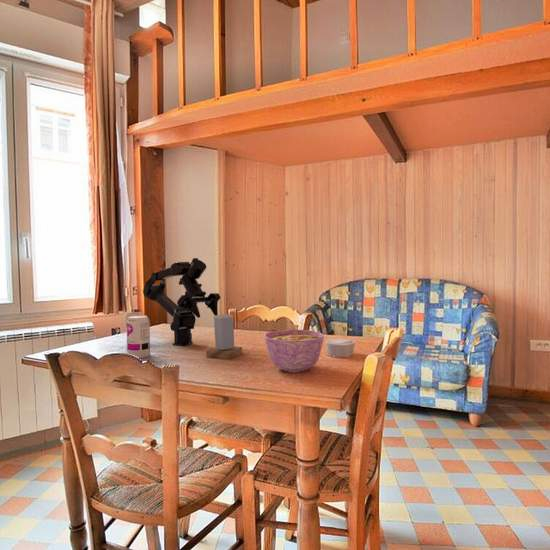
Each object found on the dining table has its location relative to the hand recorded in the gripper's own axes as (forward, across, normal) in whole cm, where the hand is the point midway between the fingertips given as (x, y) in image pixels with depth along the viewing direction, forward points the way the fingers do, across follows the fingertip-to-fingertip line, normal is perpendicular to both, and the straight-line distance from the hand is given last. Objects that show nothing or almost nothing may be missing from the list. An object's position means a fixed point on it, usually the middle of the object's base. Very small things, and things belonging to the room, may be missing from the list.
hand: (208, 316), depth 177 cm
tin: (+15, +1, 0) cm, 15 cm away
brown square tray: (+18, +1, -2) cm, 18 cm away
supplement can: (+2, +22, -20) cm, 30 cm away
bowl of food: (+40, 0, +23) cm, 46 cm away
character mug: (-14, +9, -36) cm, 40 cm away
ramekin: (+39, -27, +25) cm, 53 cm away
